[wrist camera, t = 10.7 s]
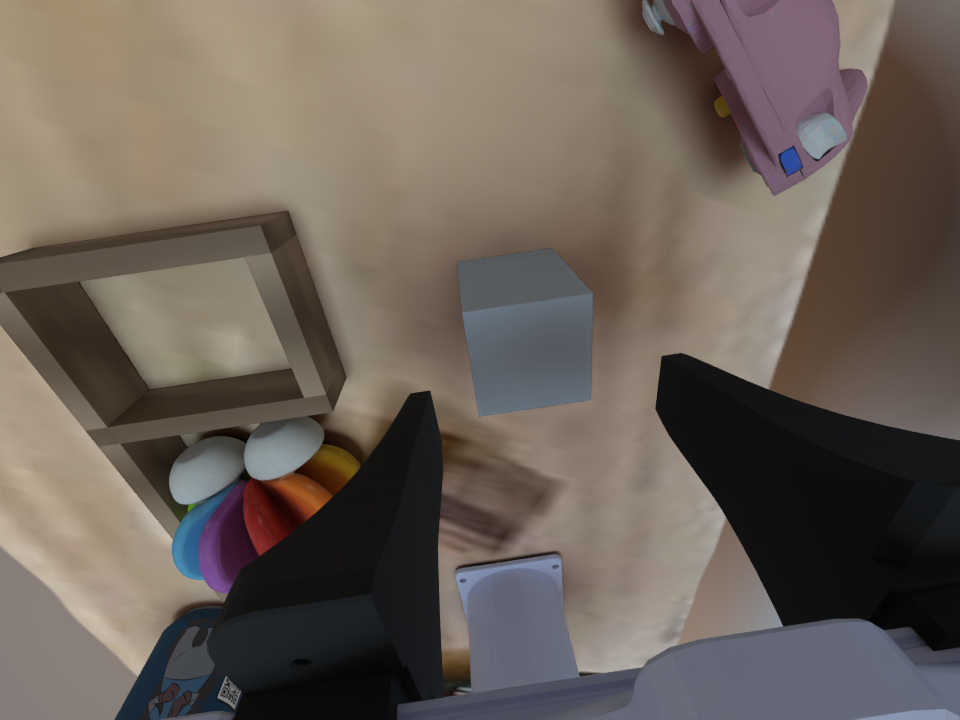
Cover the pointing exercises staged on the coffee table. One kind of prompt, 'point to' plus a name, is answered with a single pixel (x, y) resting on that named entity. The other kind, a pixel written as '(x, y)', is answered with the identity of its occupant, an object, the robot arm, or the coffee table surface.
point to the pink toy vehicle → (774, 78)
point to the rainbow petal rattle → (251, 494)
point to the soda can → (181, 674)
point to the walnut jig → (113, 379)
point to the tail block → (526, 331)
